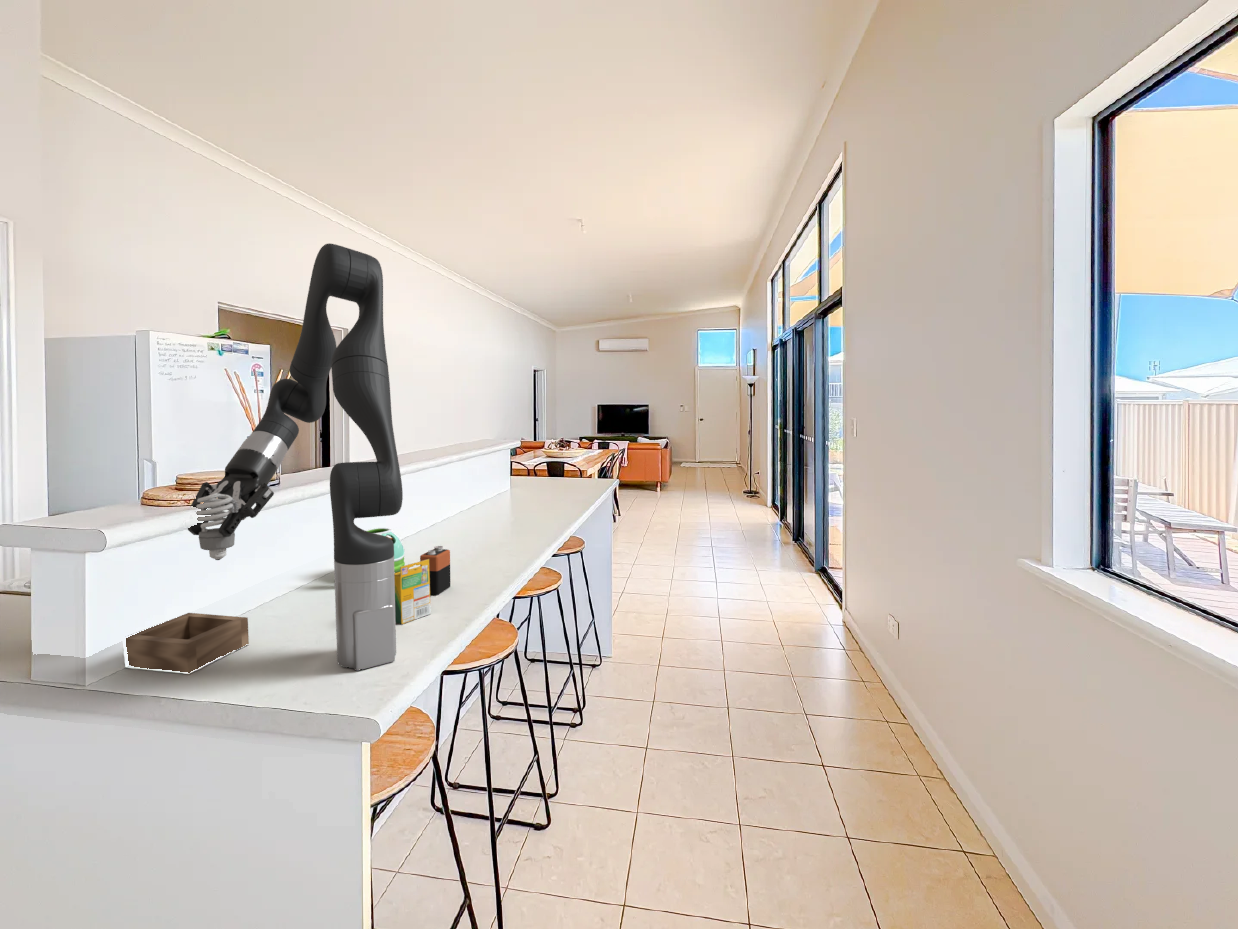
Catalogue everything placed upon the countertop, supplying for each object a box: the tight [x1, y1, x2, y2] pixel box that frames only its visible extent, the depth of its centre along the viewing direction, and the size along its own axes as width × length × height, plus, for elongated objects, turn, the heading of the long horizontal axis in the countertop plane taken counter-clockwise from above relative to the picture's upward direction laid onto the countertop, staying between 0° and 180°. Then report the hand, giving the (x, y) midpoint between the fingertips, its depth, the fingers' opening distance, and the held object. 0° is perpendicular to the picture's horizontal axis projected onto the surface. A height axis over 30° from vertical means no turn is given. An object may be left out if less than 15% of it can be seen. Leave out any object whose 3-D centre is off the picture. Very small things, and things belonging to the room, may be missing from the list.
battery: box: [419, 545, 451, 596], centre depth 136 cm, size 4×7×10 cm, turn 170°
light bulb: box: [195, 493, 236, 561], centre depth 105 cm, size 6×6×12 cm
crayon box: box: [394, 559, 432, 625], centre depth 119 cm, size 7×3×12 cm, turn 148°
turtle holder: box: [365, 527, 406, 573], centre depth 144 cm, size 12×18×12 cm
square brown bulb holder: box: [126, 612, 250, 673], centre depth 99 cm, size 12×12×5 cm
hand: (208, 533), depth 103 cm, fingers closed on light bulb, 5 cm apart
